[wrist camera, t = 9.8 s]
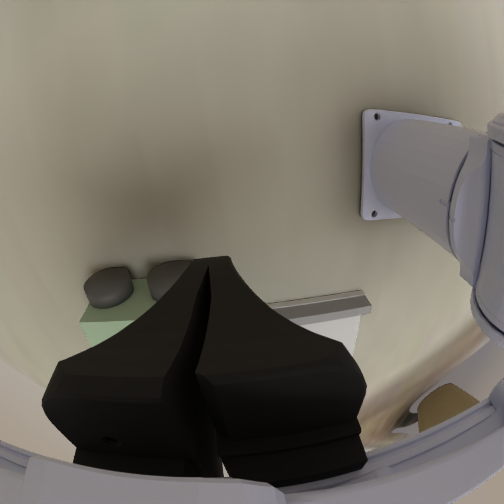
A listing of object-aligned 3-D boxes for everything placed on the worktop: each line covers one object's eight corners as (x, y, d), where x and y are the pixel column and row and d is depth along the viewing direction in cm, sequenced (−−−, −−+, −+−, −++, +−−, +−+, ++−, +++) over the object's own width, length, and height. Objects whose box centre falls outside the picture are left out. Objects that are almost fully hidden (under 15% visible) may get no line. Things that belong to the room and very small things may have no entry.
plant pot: (482, 365, 35) (525, 429, 21) (431, 419, 41) (461, 481, 27) (440, 365, 31) (492, 452, 17) (379, 427, 37) (410, 506, 23)
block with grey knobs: (368, 239, 21) (409, 281, 16) (340, 396, 31) (355, 438, 25) (93, 269, 20) (62, 319, 15) (161, 416, 30) (157, 459, 24)
